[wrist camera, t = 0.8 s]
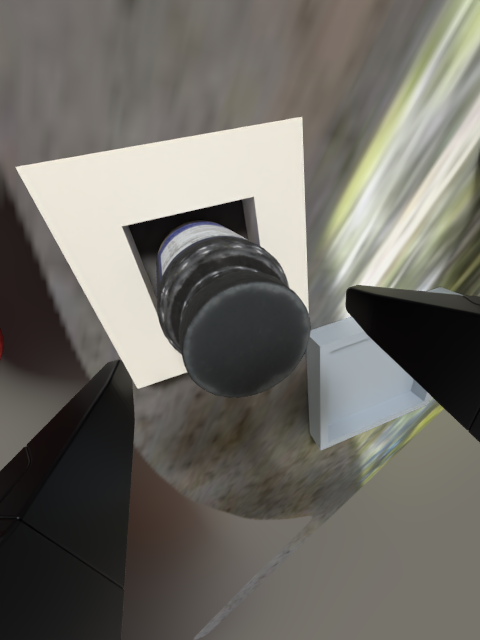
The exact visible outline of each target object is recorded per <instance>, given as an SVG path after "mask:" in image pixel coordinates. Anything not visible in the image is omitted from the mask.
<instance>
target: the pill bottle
mask: <svg viewBox="0 0 480 640" xmlns="http://www.w3.org/2000/svg"><path fill="white" fill-rule="evenodd" d="M156 266H157V271H156V272H157V316H158V319H159V323H160V326H161V329H162V331H163V333H164V335H165V337H166V338H167V339H168V341H169V343H170V344H171V345H172V346H173V347H174V349H175V350H177V351H178V352H179V353H180V354H182V357H183V362H184V366H185V368H186V370H187V372H188V374H189V375H190V377H191V379H192V380H193V381H194V382H195V383H196V384H197V385H198V386H200V387H201V388H202V389H204V390H206V391H208V392H210V393H212V394H214V395H218V396H224V397H229V398H232V397H237V398H239V397H245V396H251V395H254V394H258V393H261V392H263V391H265V390H267V389H269V388H271V387H273V386H275V385H276V384H278V383H279V382H281V381H282V380H283V379H284V378H286V377H287V376H288V375H289V374H290V373H291V372H292V371H293V370H294V369H295V368H296V366H297V365H298V363H299V362H300V361H301V359H302V357H303V355H304V354H305V351H306V350H307V345H308V342H309V338H310V331H311V325H310V318H309V313H308V311H307V308H306V306H305V305H304V303H303V302H302V300H301V299H300V298H299V296H298V295H297V294H296V293H295V292H294V291H293V290H291V289H290V288H289V284H288V281H287V278H286V275H285V273H284V271H283V269H282V267H281V265H280V263H278V261H277V259H275V258H274V257H273V256H272V255H271V254H270V253H269V252H267V251H266V250H265V249H264V248H262V247H261V246H258V245H257V244H255V243H253V242H251V241H249V240H247V239H245V238H244V237H242V236H240V235H238V234H237V233H235V232H233V231H231V230H229V229H227V228H225V227H224V226H222V225H220V224H218V223H215V222H212V221H208V220H202V219H199V220H192V221H187V222H185V223H183V224H181V225H179V226H177V227H175V228H174V229H172V230H171V231H170V232H169V233H168V234H167V236H166V237H165V238H164V240H163V241H162V243H161V246H160V249H159V251H158V254H157V261H156Z"/></svg>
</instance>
